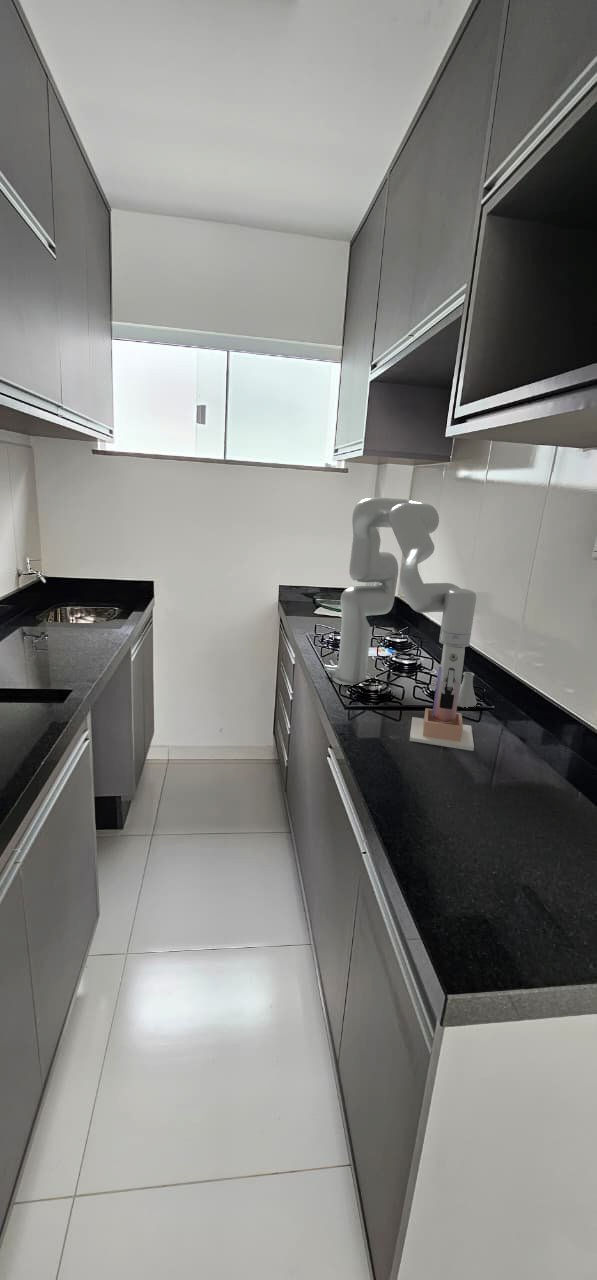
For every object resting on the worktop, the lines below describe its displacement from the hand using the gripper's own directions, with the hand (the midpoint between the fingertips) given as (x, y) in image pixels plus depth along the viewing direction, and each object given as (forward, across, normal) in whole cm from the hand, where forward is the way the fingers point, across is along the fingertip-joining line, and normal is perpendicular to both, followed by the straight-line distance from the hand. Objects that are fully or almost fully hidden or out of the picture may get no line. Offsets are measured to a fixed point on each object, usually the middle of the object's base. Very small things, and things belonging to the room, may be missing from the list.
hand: (445, 703), depth 152 cm
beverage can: (+5, 0, 0) cm, 5 cm away
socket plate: (+9, 0, 0) cm, 9 cm away
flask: (+9, +26, -7) cm, 29 cm away
